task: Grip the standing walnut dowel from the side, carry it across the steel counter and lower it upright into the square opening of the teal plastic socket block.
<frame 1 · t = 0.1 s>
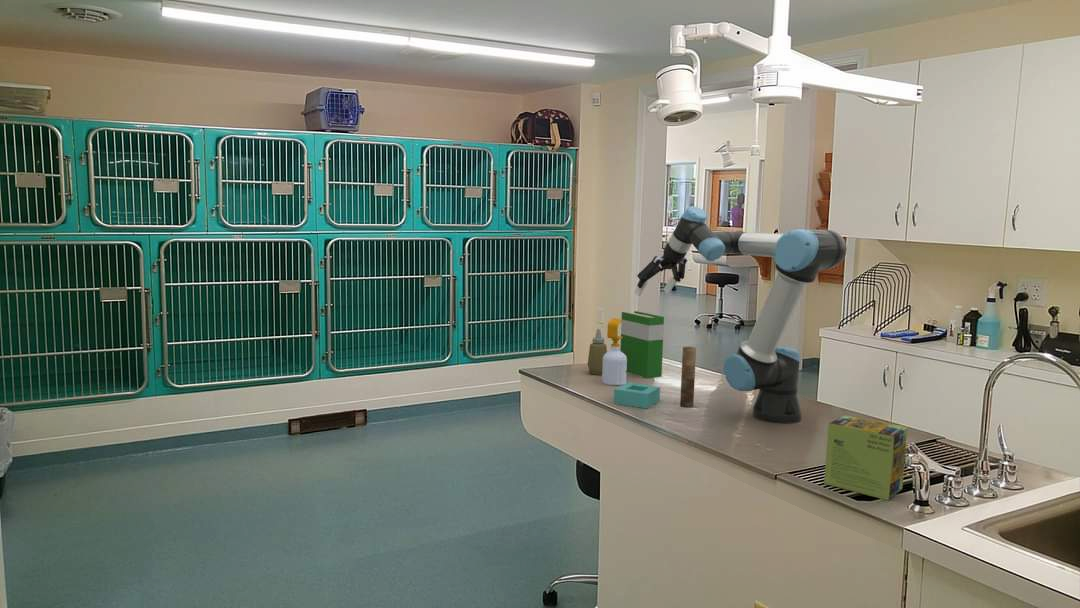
hand: (651, 293, 269), 36 cm above the countertop, tool tilted 35°, fingers open, 13 cm apart
socket: (636, 402, 255), on the countertop
protein box: (862, 487, 181), on the countertop
dowel: (686, 405, 252), on the countertop
soap bottle: (614, 383, 283), on the countertop
squeeze bottle: (597, 374, 298), on the countertop
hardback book: (640, 373, 301), on the countertop
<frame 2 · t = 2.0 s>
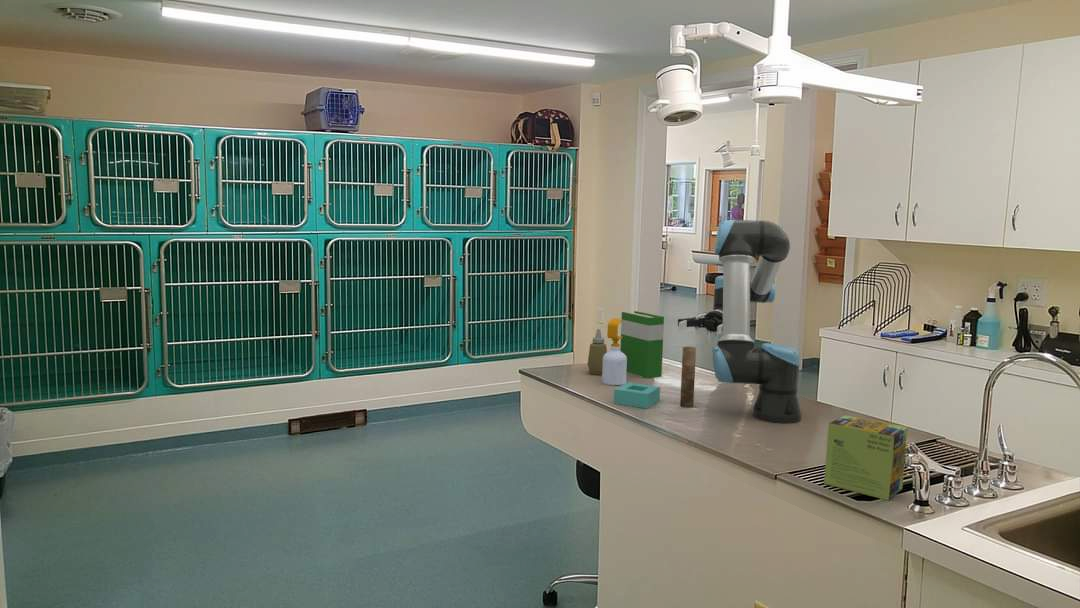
hand: (698, 328, 257), 25 cm above the countertop, tool horizontal, fingers open, 13 cm apart
nothing on the countertop moved.
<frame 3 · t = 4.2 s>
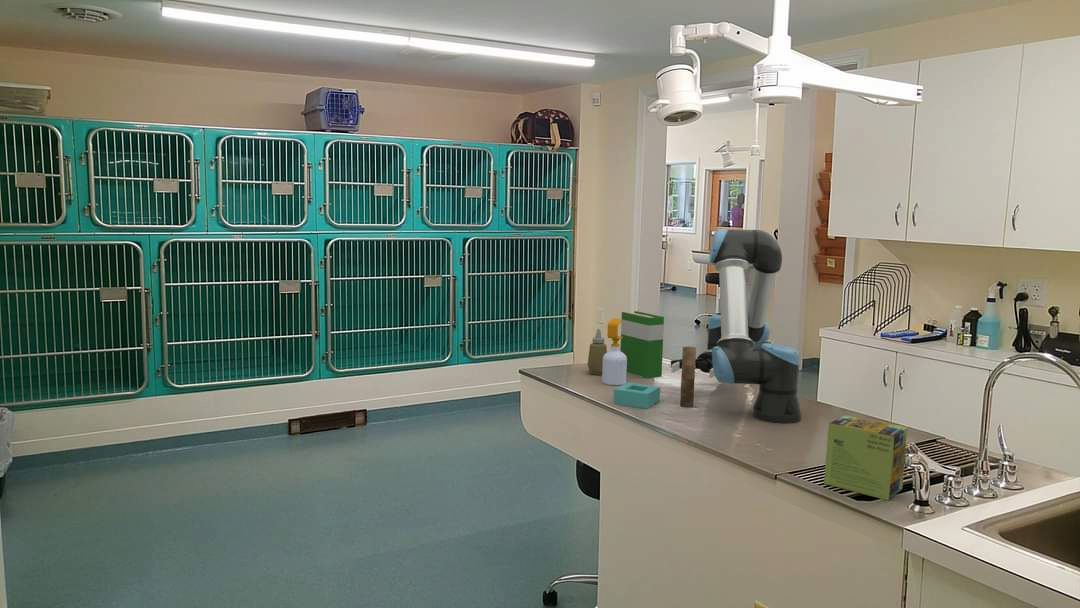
hand: (691, 371, 255), 11 cm above the countertop, tool horizontal, fingers open, 13 cm apart
nothing on the countertop moved.
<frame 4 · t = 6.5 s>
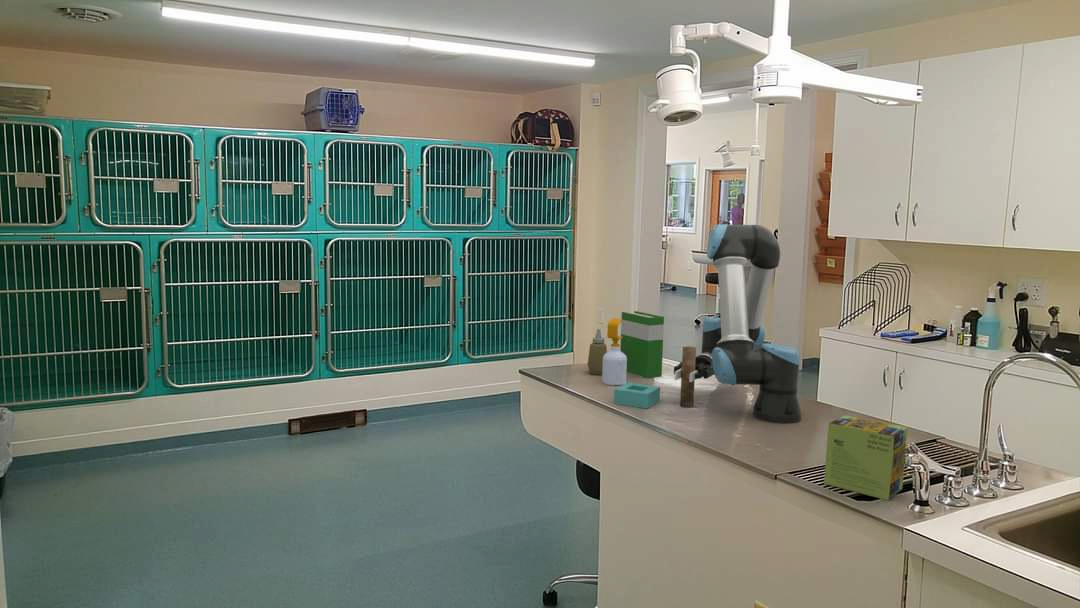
hand: (683, 377, 246), 11 cm above the countertop, tool horizontal, fingers closed on dowel, 4 cm apart
dowel: (686, 405, 252), on the countertop, touching gripper
everything else where it was.
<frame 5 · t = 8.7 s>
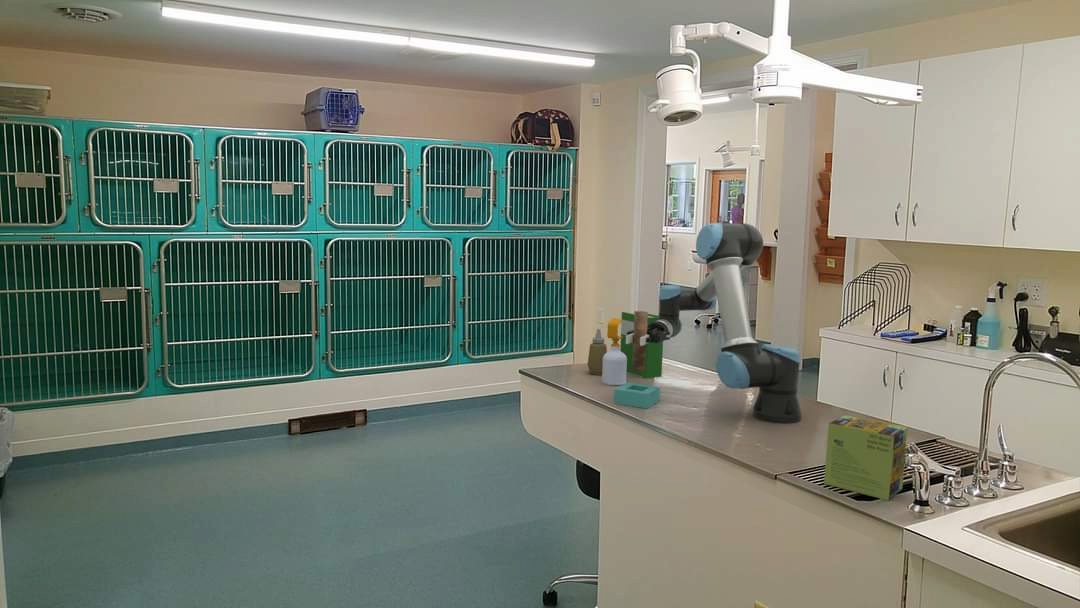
hand: (634, 340, 248), 22 cm above the countertop, tool horizontal, fingers closed on dowel, 4 cm apart
dowel: (638, 370, 254), point 11 cm above the countertop, touching gripper
everything else where it was.
when the fingers open (12 cm above the countertop, at t = 11.2 s): dowel drops 1 cm, resting in socket.
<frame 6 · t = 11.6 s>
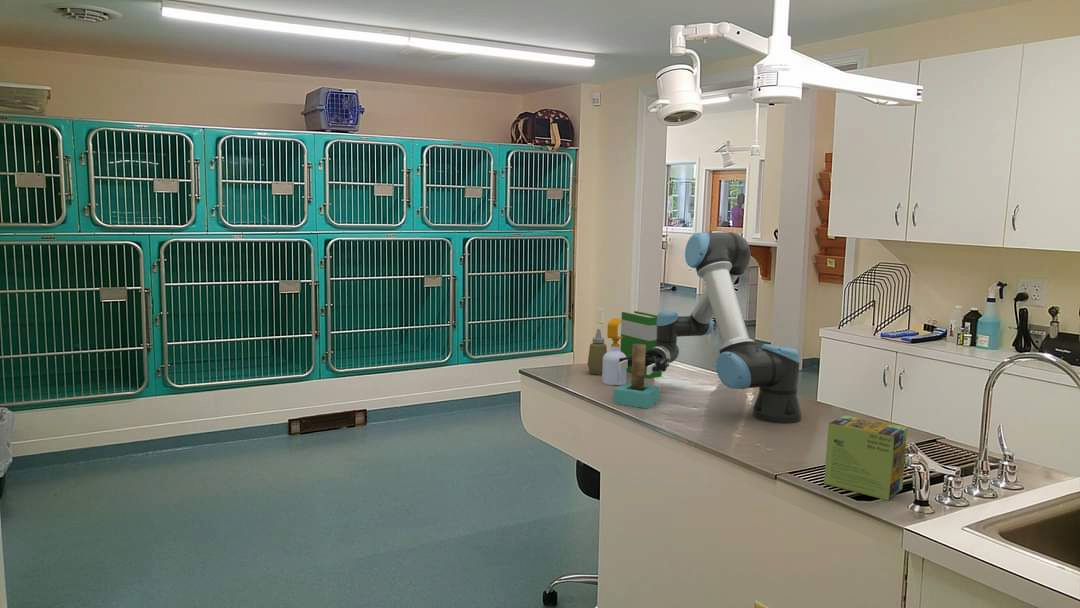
hand: (633, 368, 250), 12 cm above the countertop, tool horizontal, fingers open, 9 cm apart
dowel: (637, 402, 255), resting in socket
everything else where it was.
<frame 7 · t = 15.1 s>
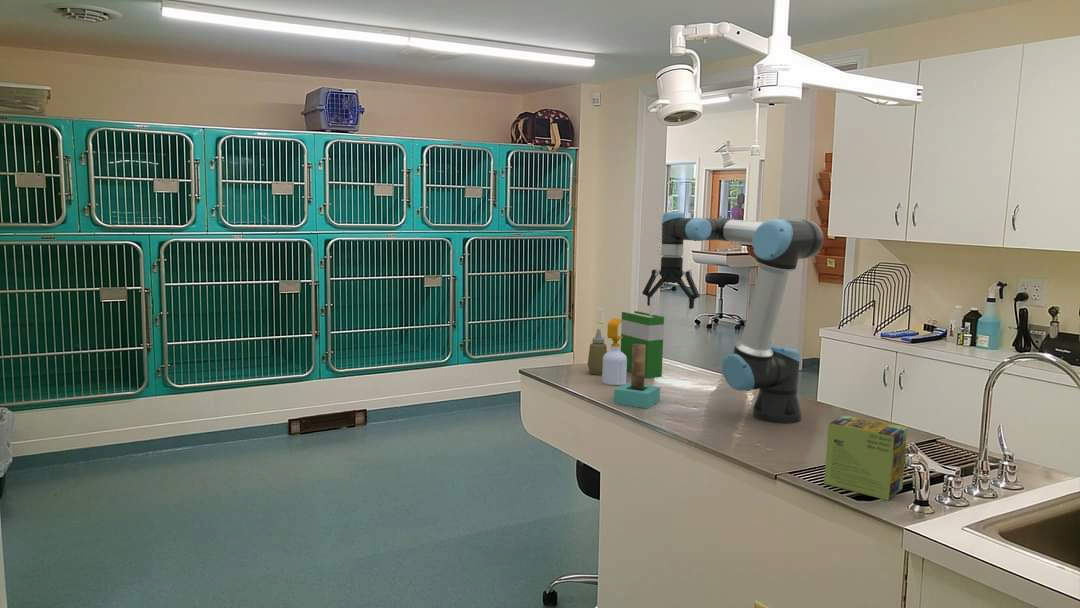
hand: (669, 316, 264), 28 cm above the countertop, tool pointing down, fingers open, 13 cm apart
nothing on the countertop moved.
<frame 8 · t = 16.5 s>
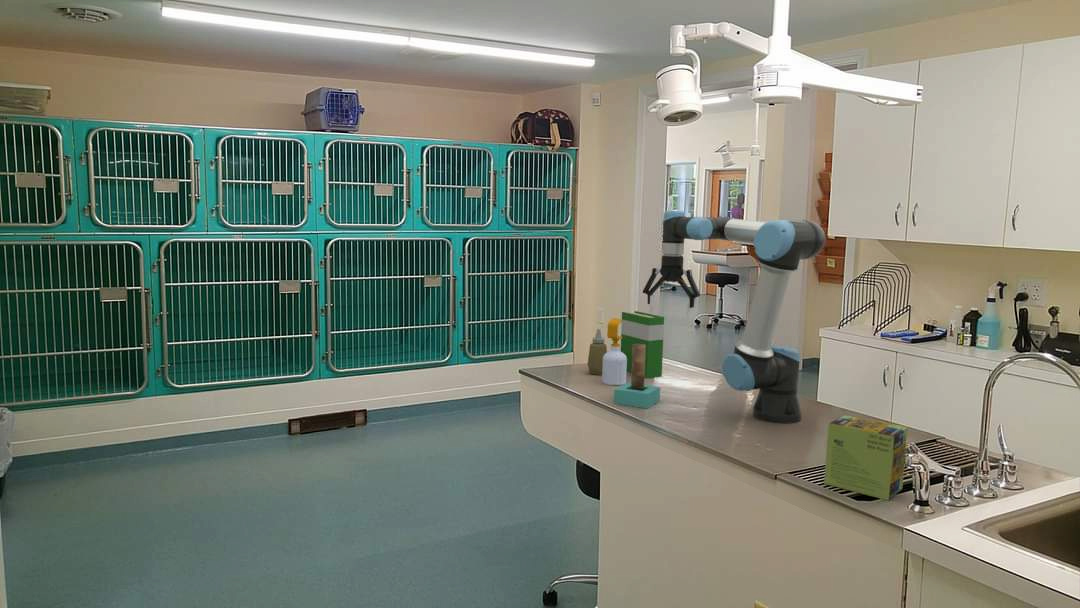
hand: (670, 315, 263), 29 cm above the countertop, tool pointing down, fingers open, 13 cm apart
nothing on the countertop moved.
at the end: dowel 0.1 cm off-centre on the socket, point 0.0 cm above the socket's base; dowel tilted 0°; the gripper is holding nothing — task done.
